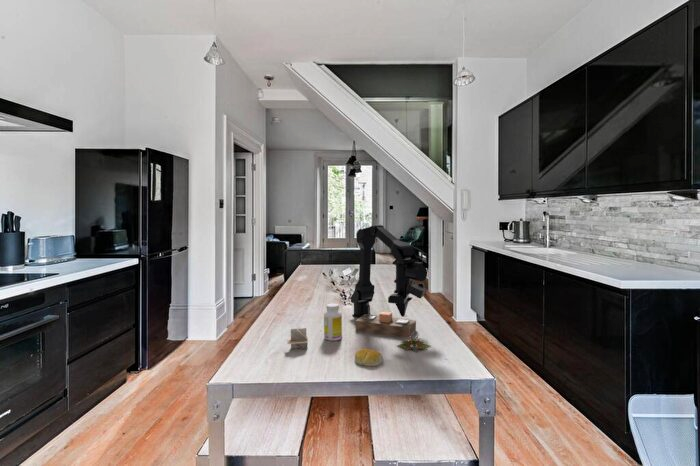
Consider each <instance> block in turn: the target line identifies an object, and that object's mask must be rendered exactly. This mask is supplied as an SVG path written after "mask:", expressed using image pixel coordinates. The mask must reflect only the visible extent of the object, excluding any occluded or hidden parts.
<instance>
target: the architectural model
mask: <svg viewBox="0 0 700 466" xmlns="http://www.w3.org/2000/svg"><path fill="white" fill-rule="evenodd" d="M308 342H309V340H308V334H307V327H302V328H301V327H300V328H291V329H290V339H287V345H290V349H291V348H292V349H300V350H303V349H305V348H304V347H306V350H308V349H309V347H308Z"/></svg>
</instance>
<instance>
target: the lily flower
mask: <svg viewBox="0 0 700 466" xmlns="http://www.w3.org/2000/svg"><path fill="white" fill-rule="evenodd" d="M409 335H410V334H409ZM418 337H419V334H418V335H417V334H415V337H414V334H412V335H410V336H409V338H408V340H403V341H402V343H400V344H398V345H397V347H401V348H403V350H404V351H406V350H411V351H413V352H415V353H418V352H419V351H421V349H422V350H426V351H428V348H427V347H432V345H431V344H427V343H424V341H420V340H421V338H418ZM417 339H418V340H417Z"/></svg>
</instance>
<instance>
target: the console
mask: <svg viewBox="0 0 700 466" xmlns="http://www.w3.org/2000/svg"><path fill="white" fill-rule="evenodd" d="M366 315H369V314H365V315H363V316H362V317H358V318H357V319H356V320H355V331H358V332H365V333H372V334H378V335H386V336H391V337H392V336H394V337H399V338H405V339H410V337H411V336H413V335H414V333H415V332H416V331H417V320H415V319H409V318H408V319H407V318H402V319H403V320H409V323H408V324H407V325H402V324H396V322H397V321H398V320H399V319H401V318H399V317H392V321H391V322H390V323H387V322H379V315H377V314H375V315H374V314H370V315H371V316H376V319H374V320H373V321H372V320H364V319H363V317H365V316H366ZM409 334H410V335H411V336H410V335H409ZM409 336H410V337H409Z"/></svg>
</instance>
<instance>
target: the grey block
mask: <svg viewBox="0 0 700 466" xmlns="http://www.w3.org/2000/svg"><path fill="white" fill-rule="evenodd" d="M403 319H404V318H400V319H399V320H398V321H397V322H396V324H402V325H407V324H408V323H409V320H410V319H408V320H403Z"/></svg>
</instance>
